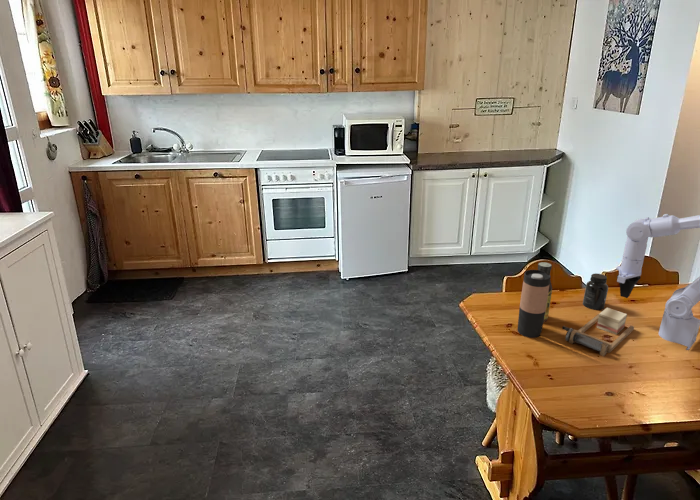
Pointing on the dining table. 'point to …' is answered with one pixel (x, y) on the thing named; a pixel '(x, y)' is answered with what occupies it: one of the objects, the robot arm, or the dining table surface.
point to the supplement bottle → (596, 292)
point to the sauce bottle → (547, 268)
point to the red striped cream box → (611, 321)
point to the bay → (610, 345)
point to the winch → (585, 341)
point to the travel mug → (533, 303)
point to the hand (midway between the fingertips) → (624, 296)
